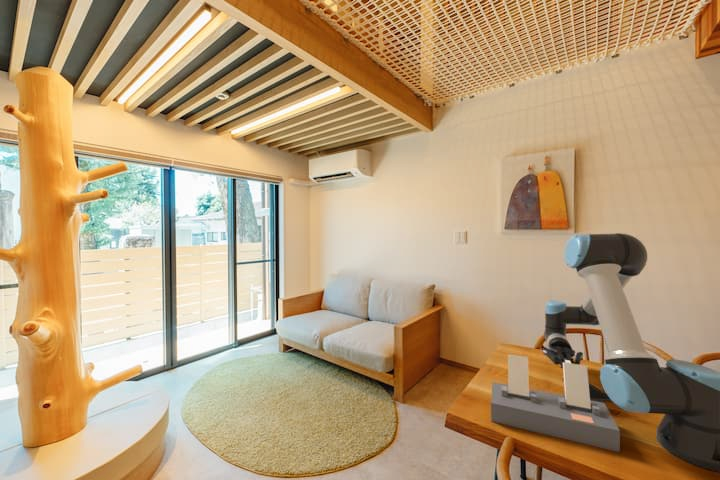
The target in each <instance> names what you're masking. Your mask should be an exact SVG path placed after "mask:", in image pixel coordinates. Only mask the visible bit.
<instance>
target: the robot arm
mask: <svg viewBox="0 0 720 480" xmlns="http://www.w3.org/2000/svg"><path fill="white" fill-rule="evenodd" d="M647 261H648V251H647V248H646V247H645V245H644V243H643V242H642V241H641V240H639V239H638V238H637V237H636V236H633V235H630V234H627V233H621V232H620V233H582V234H574V235H573V236H571V237H570V238H569V239H568V240H567V242H566V245H565V248H564V262H565V264H566V265H567V266H568V267H569V268H571V269H575V270H576V273H577V275H578V277H581V278H583V279H584V281H585V284H586V287H587V290H588V293H589V294H588V295H587V296H586V298H585V300H584V301H583V303H582V304H581V305H580V306H569V305H568V306H567V304H566V303H565V302H563V301H559V300H548V301H546V303H545V307H544V313H545V314H544V315H545V317H544V318H545V320H544V321H545V324H544V331H543V334H544V335H543V336H544V338H545V339H544V340H545V341H546V343H547V346H548V347H545V346H544V347H543V349H542V352H543V353H542V354H543V355H545V356H546V357H547V358H548V359H549V360H550V361H551V362H552V363H553V364H555V365H556V366H558V365H560V368H561V369H563V362H565V363H571V364H578V365H581V361H582V360H584V353H583V352H582V351H579V352H576V351H575V350H574V349H573V348H572V345H571V344H570V343H569V340H568V339H567V338H568V337H567V325H580V326H581V325H583V326H599V327H600V332H601V334H602V337H603V340H604V342H605V346H606V349H607V352H608V354H607V355H606V357H605V358H604V363H605V364H604V365H602V367H600V370H599V373H600V375H599V379H600V383H601V386H602V388H603V390H604V393H606V394H607V395H608V397H609V398H610V399H611V400H612V402H613V403H614V404H615V405H616V406H617V407H618V408H620V409H622V410H623V411H627V412H633V413H638V414H658V415H659V414H660V415H663V417H662V418H661V420H660V422H659V423H658V426H657V427H656V438H655V439H656V440H657V442H658V443H659V444H660V445H661V447H663V448H664V449H665V450H667V451H668V452H669V453H670V454H672V455H674V456H675V457H678V458H680V459H681V460H683V461H686V462H687V463H689V464H692V465H694V466H697V467H700V468H702V469H706V470H709V471H713V472H718V473H720V372H719V371H717V370H715V369H713V368H710V367H707V366H705V365H701V364H698V363H695V362H692V361H687V360H681V359H675V358H672V359H668V360H667V361H666V363H665V366H666V367H663V366H660V364H659V362H658V359H657V358H656V357H655V356H653V355H651V354H650V353H648V351H647V349H646V348H645V345H644V341H643V339H642V336H641V334H640V331H639V328H638V325H637V324H636V321H635V318H634V315H633V312H632V309H631V308H630V304H629V302H628V299H627V296H626V293H625V291H624V288H625V287H626V285H628V283H629V282H630V280H631V279H632V278H633V277H636V276H639V275H640V274H641V272H642V271H643V270H644V269H645V266H646V265H647ZM573 357H575V359H574V358H573Z"/></svg>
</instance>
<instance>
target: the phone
mask: <svg viewBox="0 0 720 480" xmlns="http://www.w3.org/2000/svg"><path fill="white" fill-rule="evenodd" d="M562 382H563V383H564V377H563V378H562ZM588 383H589V382H588ZM589 394H590V400H591V401H597V402H611V401H612V400H611V399H610V398H609V397H608V395H607V394H606V392H605V391H603V390H601V389H599V388H597V386H594V385H592V383H589ZM612 402H613V401H612Z"/></svg>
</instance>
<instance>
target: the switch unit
mask: <svg viewBox="0 0 720 480" xmlns="http://www.w3.org/2000/svg"><path fill="white" fill-rule="evenodd" d="M490 401H491V402H490V416H491V417H490V421H491V422H493V423H496V424H501V425H505V426H509V427H513V428H517V429H522V430H526V431H529V432H534V433H539V434H543V435H547V436H552V437H555V438H559V439H564V440H568V441H572V442H575V443H580V444H584V445H589V446H592V447H595V448H601V449H605V450H609V451H613V452H616V453H620V452H621V451H620V450H621V448H620V447H621V430H620V429H619V427H618V424H617V423H616V421H615V419H614V418H613V416H612V415H611V413H610V411H609V409H608V407H607V406H606V404H605V402H603V401H600V402H597V401H591V400H590V405H591V409H589V408H584V407H579V406H574V405H569V404H566V402H565V394H559V393H553V392H548V391H544V390H538V389H532V388H529V397H528V396H523V395H518V394H513V393H508V384H507V383H506V384H505V383H501V382H496V381H492V384H491V400H490Z"/></svg>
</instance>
